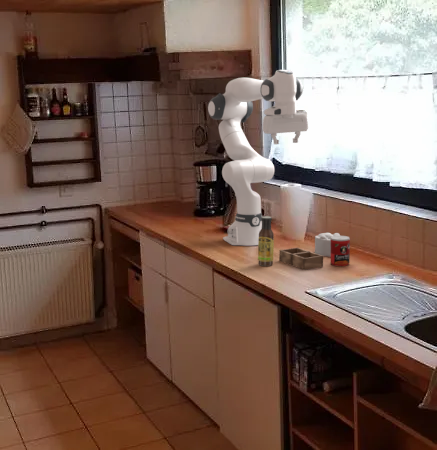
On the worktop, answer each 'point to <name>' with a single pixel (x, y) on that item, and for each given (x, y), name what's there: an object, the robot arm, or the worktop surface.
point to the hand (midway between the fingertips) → (285, 143)
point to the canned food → (340, 250)
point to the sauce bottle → (266, 243)
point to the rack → (301, 258)
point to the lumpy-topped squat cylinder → (324, 244)
